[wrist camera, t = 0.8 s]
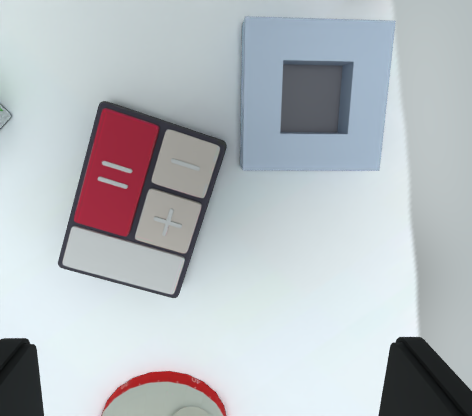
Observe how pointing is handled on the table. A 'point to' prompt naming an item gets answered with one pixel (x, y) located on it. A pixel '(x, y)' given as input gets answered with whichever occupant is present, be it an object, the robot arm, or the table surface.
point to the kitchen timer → (164, 397)
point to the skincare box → (3, 116)
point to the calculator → (140, 200)
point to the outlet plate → (314, 93)
